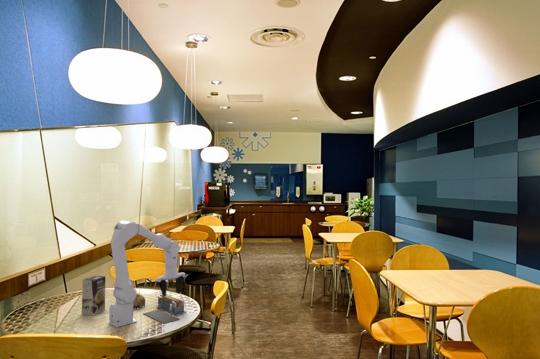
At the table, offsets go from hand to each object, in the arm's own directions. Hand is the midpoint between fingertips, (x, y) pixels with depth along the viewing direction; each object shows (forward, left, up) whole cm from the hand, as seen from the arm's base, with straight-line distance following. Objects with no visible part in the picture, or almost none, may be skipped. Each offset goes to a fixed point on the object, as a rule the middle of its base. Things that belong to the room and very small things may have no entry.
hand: (171, 294), depth 193 cm
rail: (0, 0, -4) cm, 4 cm away
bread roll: (-10, +17, -8) cm, 21 cm away
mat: (-9, -6, -8) cm, 13 cm away
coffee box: (-28, +22, -8) cm, 36 cm away
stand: (0, 0, -8) cm, 8 cm away
